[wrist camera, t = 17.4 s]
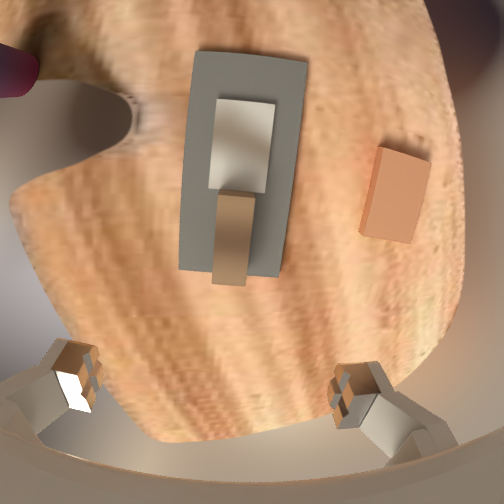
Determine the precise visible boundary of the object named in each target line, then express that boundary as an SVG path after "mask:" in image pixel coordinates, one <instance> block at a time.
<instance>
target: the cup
mask: <svg viewBox="0 0 504 504" xmlns="http://www.w3.org/2000/svg"><path fill="white" fill-rule="evenodd" d="M38 72H39V64H38V60H37V58H36V57H35V56H33V55H31V54H28V53H26V52H23V51H20V50H18V49H15V48H12V47H10V46H7V45H4V44H1V43H0V98H6V97H7V98H8V97H20V96H23V95H25V94H26V93H27V92H28V91H29V90H30V89H31V88H32V87H33V85H34V83H35V82H36V79H37V76H38Z"/></svg>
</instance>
